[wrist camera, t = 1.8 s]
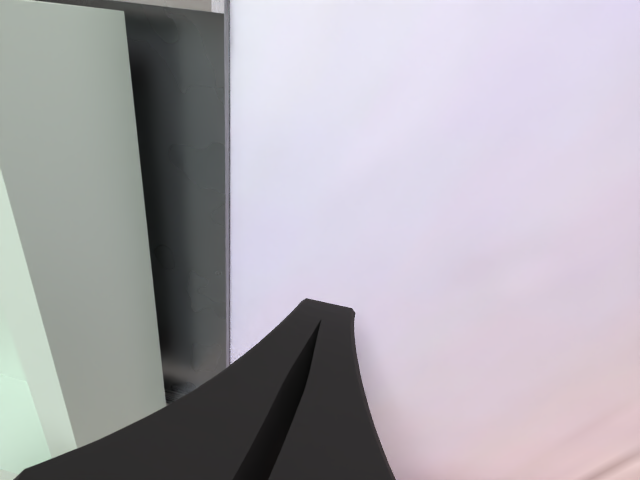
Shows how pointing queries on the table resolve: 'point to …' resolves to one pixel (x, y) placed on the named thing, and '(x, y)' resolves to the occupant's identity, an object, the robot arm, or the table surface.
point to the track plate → (183, 175)
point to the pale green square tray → (71, 236)
